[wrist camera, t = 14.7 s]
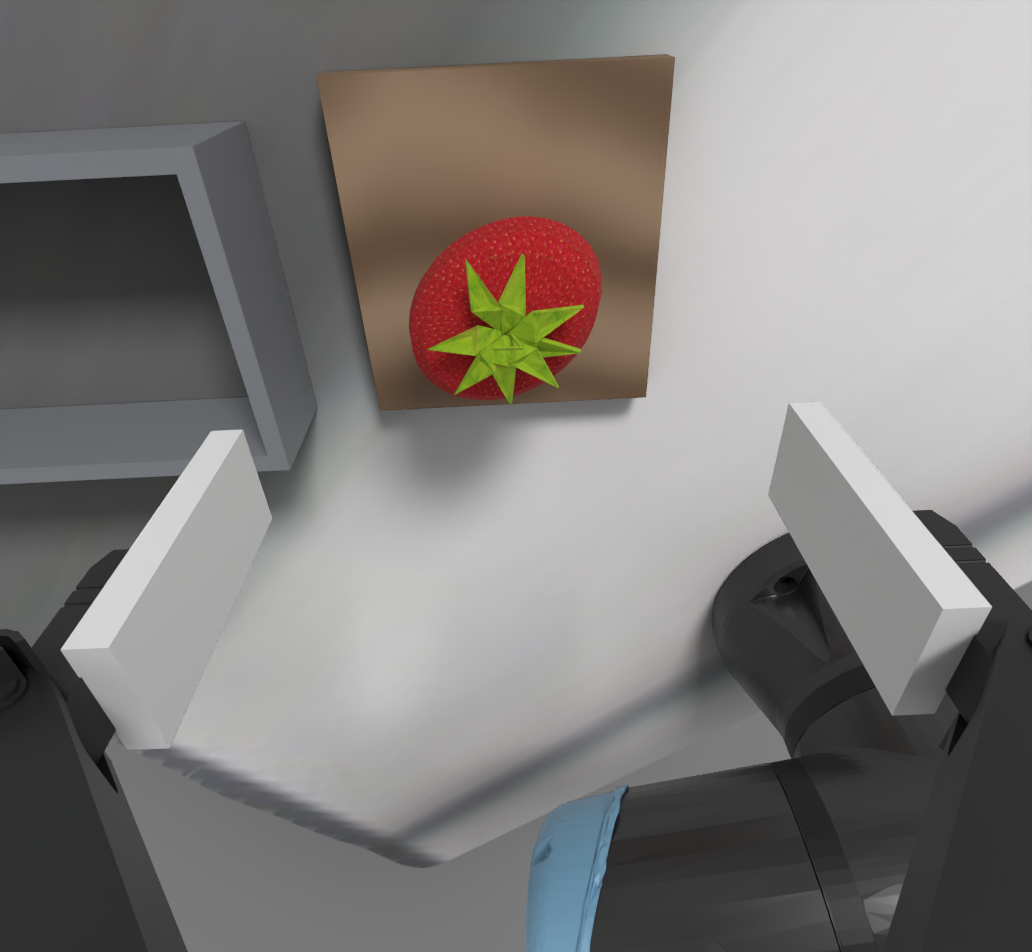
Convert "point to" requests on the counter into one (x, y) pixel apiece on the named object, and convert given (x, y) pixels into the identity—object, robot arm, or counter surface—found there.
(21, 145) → the crate
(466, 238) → the strawberry
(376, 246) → the display board
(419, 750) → the counter surface
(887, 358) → the counter surface
